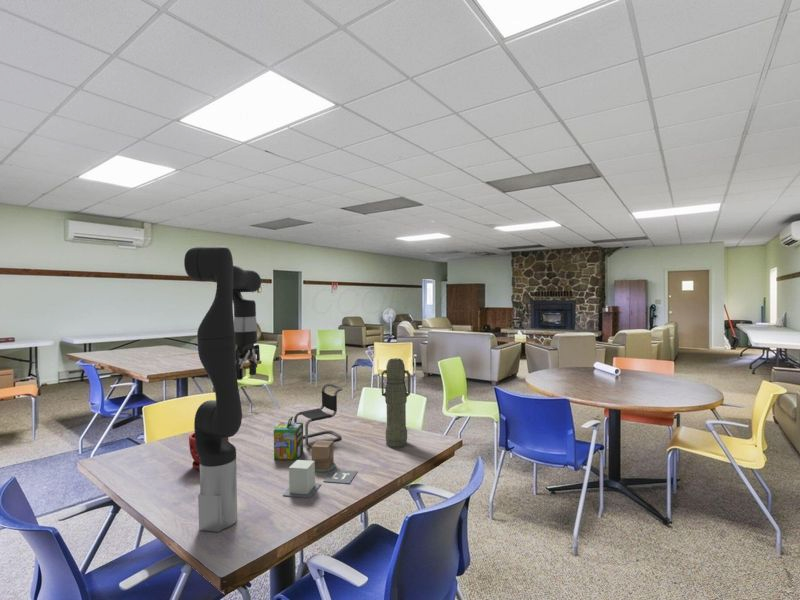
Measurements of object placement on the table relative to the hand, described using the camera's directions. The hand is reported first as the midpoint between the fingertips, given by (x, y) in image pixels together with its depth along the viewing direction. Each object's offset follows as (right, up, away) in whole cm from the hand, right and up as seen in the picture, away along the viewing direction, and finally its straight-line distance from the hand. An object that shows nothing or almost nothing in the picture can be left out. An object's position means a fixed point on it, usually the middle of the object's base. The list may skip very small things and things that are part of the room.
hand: (246, 377), depth 142 cm
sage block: (+22, -34, -10) cm, 41 cm away
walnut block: (+25, -33, +7) cm, 42 cm away
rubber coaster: (+25, -34, +7) cm, 43 cm away
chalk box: (+10, -34, +18) cm, 40 cm away
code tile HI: (+22, -34, -10) cm, 42 cm away
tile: (+33, -34, -1) cm, 47 cm away
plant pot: (-17, -34, +10) cm, 40 cm away
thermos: (+51, -33, +29) cm, 68 cm away
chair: (+18, -34, +35) cm, 52 cm away
